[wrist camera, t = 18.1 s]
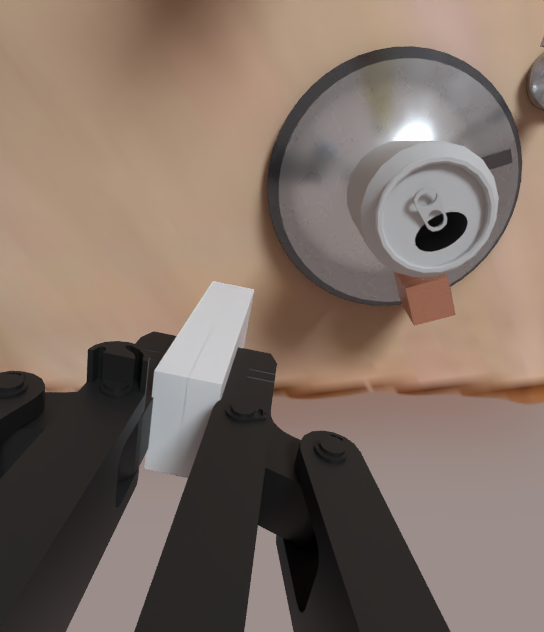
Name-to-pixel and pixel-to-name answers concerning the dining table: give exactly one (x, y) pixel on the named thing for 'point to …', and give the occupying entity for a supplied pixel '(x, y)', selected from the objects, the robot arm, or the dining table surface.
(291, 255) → the turntable base
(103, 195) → the dining table surface
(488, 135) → the platter
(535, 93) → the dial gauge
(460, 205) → the can
